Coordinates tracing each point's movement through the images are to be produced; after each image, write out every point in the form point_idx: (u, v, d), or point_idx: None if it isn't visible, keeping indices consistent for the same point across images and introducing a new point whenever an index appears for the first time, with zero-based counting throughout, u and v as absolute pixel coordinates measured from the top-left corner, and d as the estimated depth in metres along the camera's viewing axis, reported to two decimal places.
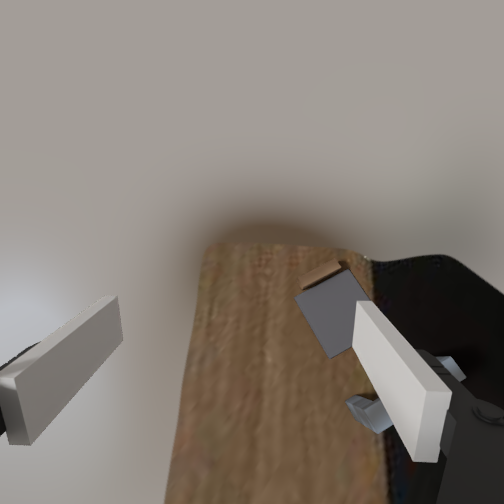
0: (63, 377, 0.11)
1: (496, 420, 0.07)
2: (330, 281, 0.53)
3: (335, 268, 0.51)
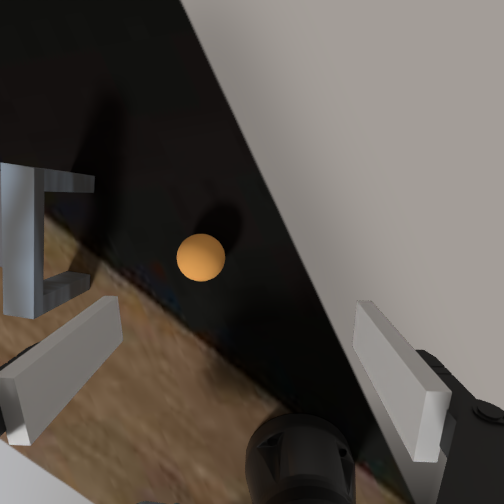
0: (63, 377, 0.11)
1: (496, 420, 0.07)
2: None
3: None
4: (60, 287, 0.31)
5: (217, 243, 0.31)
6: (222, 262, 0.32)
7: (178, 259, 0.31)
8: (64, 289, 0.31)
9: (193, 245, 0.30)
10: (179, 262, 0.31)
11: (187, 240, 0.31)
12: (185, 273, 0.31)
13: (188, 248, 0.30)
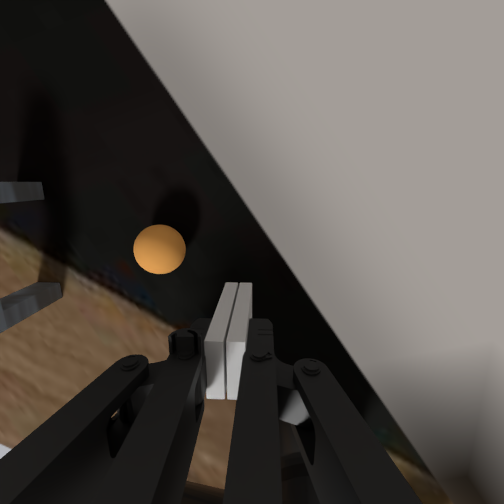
0: None
1: (263, 357, 0.10)
2: None
3: None
4: (24, 299, 0.31)
5: (172, 232, 0.30)
6: (181, 251, 0.30)
7: (134, 254, 0.30)
8: (29, 301, 0.31)
9: (146, 238, 0.29)
10: (136, 257, 0.30)
11: (140, 233, 0.30)
12: (144, 268, 0.30)
13: (141, 241, 0.29)
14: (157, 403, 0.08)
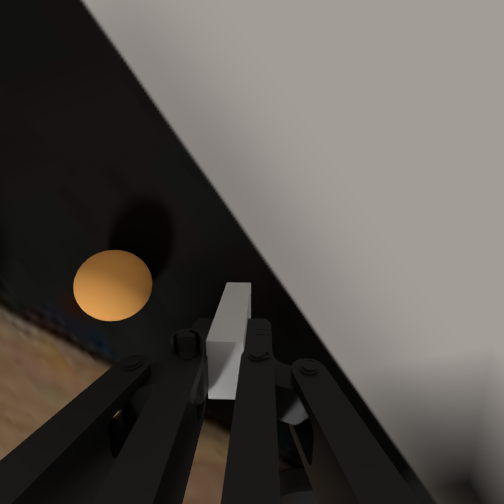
0: None
1: (262, 357, 0.10)
2: None
3: None
4: None
5: (130, 262, 0.21)
6: (143, 289, 0.21)
7: None
8: None
9: (88, 272, 0.20)
10: (76, 299, 0.20)
11: (83, 264, 0.20)
12: None
13: (81, 277, 0.20)
14: (159, 403, 0.08)
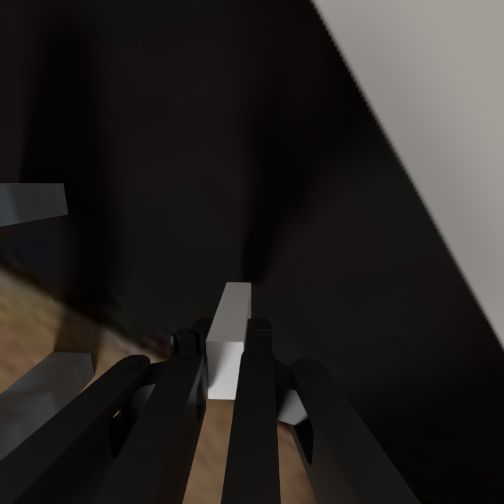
0: None
1: (262, 357, 0.10)
2: None
3: None
4: (33, 408, 0.16)
5: None
6: None
7: None
8: (41, 409, 0.17)
9: None
10: None
11: None
12: None
13: None
14: (159, 403, 0.08)
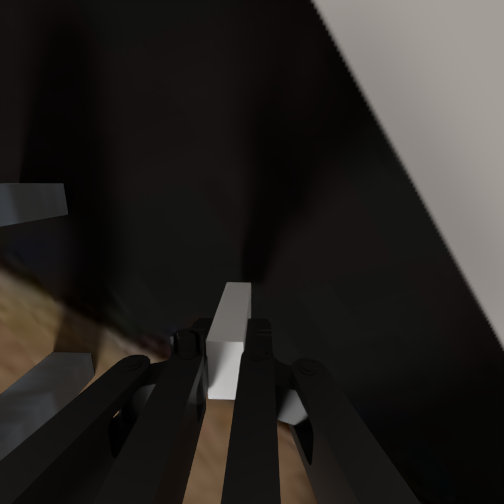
0: None
1: (262, 357, 0.10)
2: None
3: None
4: (33, 408, 0.16)
5: None
6: None
7: None
8: (41, 409, 0.17)
9: None
10: None
11: None
12: None
13: None
14: (159, 403, 0.08)
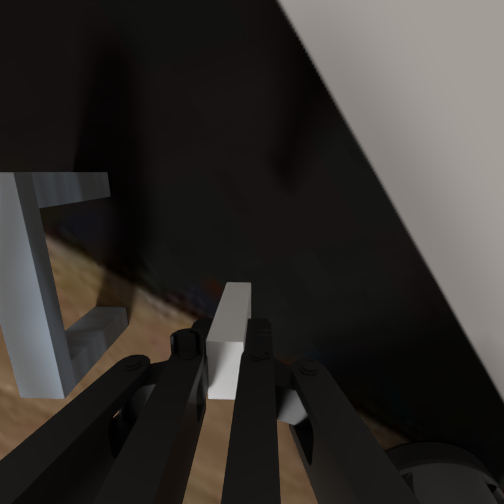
0: None
1: (262, 357, 0.10)
2: None
3: None
4: (92, 339, 0.22)
5: None
6: None
7: None
8: (97, 340, 0.22)
9: None
10: None
11: None
12: None
13: None
14: (159, 403, 0.08)
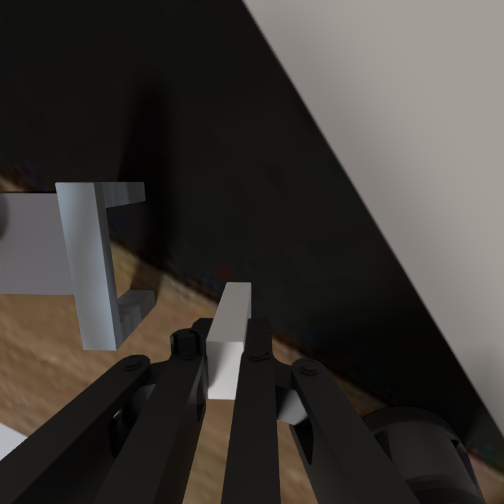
0: None
1: (262, 357, 0.10)
2: None
3: None
4: (132, 310, 0.28)
5: None
6: None
7: None
8: (135, 312, 0.29)
9: None
10: None
11: None
12: None
13: None
14: (159, 403, 0.08)
